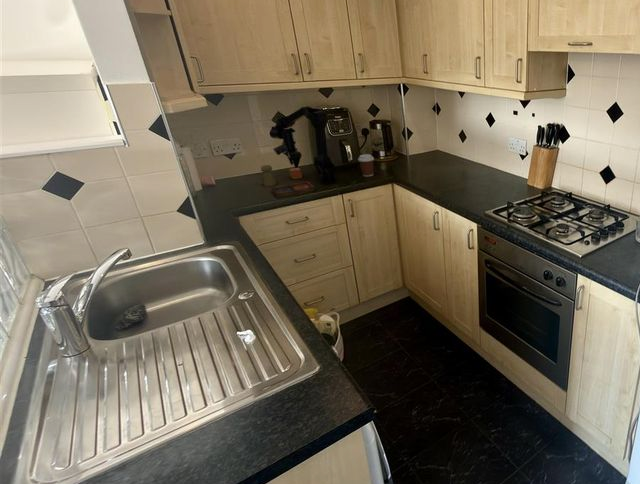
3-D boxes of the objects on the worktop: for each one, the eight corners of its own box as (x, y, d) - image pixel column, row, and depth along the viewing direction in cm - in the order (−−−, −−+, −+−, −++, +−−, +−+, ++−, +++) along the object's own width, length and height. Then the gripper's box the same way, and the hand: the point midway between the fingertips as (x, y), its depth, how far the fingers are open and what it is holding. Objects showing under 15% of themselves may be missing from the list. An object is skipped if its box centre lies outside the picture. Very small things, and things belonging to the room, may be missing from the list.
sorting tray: (308, 185, 227) (307, 181, 226) (314, 190, 219) (314, 186, 218) (272, 191, 216) (271, 187, 215) (278, 198, 208) (277, 193, 207)
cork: (271, 186, 224) (266, 167, 219) (261, 185, 225) (256, 166, 221) (278, 183, 229) (274, 164, 225) (269, 182, 230) (265, 163, 226)
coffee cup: (357, 176, 244) (354, 156, 239) (367, 172, 252) (364, 153, 247) (369, 177, 241) (366, 158, 236) (379, 173, 249) (376, 154, 244)
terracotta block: (299, 175, 243) (298, 167, 241) (302, 177, 239) (300, 169, 237) (290, 177, 240) (289, 169, 238) (293, 179, 236) (291, 170, 234)
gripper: (268, 138, 232) (275, 165, 238) (277, 144, 219) (283, 172, 226) (290, 136, 239) (295, 162, 245) (299, 142, 226) (304, 169, 232)
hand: (294, 166), depth 237 cm, fingers open, 9 cm apart
